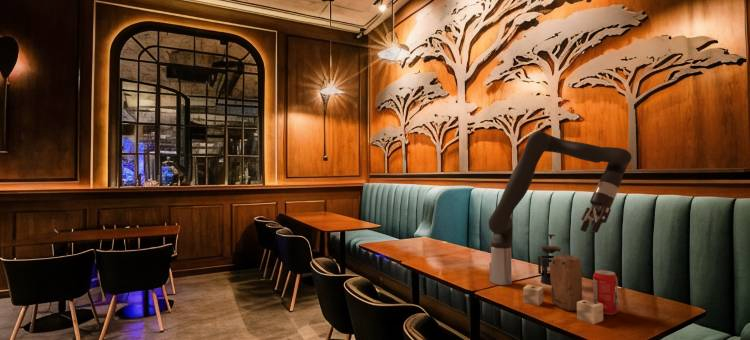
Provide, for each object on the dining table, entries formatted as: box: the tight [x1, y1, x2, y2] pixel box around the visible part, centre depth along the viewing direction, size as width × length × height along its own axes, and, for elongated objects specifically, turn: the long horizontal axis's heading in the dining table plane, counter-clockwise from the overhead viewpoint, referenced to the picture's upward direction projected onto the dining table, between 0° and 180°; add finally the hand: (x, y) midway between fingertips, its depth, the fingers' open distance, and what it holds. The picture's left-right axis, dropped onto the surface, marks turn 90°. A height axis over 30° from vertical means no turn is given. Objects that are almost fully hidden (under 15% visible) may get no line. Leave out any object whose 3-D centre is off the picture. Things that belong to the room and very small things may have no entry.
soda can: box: [592, 269, 619, 316], centre depth 139 cm, size 8×8×15 cm
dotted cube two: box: [576, 298, 604, 325], centre depth 132 cm, size 6×6×6 cm
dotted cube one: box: [522, 284, 544, 306], centre depth 150 cm, size 6×6×6 cm
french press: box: [537, 233, 562, 286], centre depth 177 cm, size 12×9×23 cm
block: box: [549, 253, 583, 312], centre depth 144 cm, size 11×8×20 cm
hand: (588, 231), depth 148 cm, fingers open, 8 cm apart
